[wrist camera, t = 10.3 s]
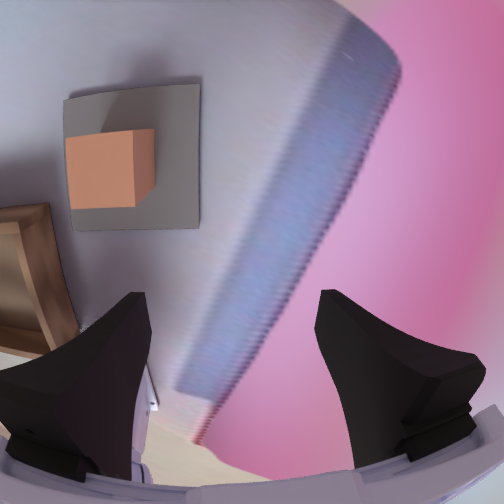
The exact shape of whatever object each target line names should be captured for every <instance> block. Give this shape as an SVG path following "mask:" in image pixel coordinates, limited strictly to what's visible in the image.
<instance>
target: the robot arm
mask: <svg viewBox="0 0 504 504" xmlns="http://www.w3.org/2000/svg"><path fill="white" fill-rule="evenodd" d="M314 330H315V333H316V338H317V341H318V345H319V348H320V351H321V353H322V356H323V358H324V360H325V363H326V365H327V367H328V369H329V372H330V374H331V377H332V379H333V381H334V384H335V386H336V388H337V391H338V394H339V397H340V400H341V404H342V407H343V411H344V415H345V419H346V423H347V427H348V431H349V436H350V442H351V447H352V453H353V459H354V466H355V469H354V470H341V471H334V472H327V473H321V474H316V475H310V476H304V477H298V478H291V479H285V480H275V481H265V482H253V483H234V484H218V485H205V486H201V487H183V486H168V485H157V484H153V479H152V475H151V473H150V471H149V469H148V467H147V466H146V465H145V464H143V463H140V462H141V455H142V454H143V452H144V448H145V441H146V434H147V427H148V421H149V414H150V410H154V411H156V410H158V409H159V405H158V402H157V399H156V396H155V393H154V389H153V386H152V383H151V379H150V376H149V372H148V369H147V365H146V361H147V358H148V354H149V348H150V341H151V334H152V331H151V326H150V321H149V315H148V310H147V304H146V298H145V292H130V293H129V294H127V295H126V296H125V297H124V298H123V299H122V300H121V301H119V302H118V303H117V304H116V305H115V306H114V307H113V308H112V309H110V310H109V311H108V312H107V313H106V314H105V315H104V316H102V317H101V318H100V319H99V320H97V321H96V322H95V323H94V324H92V325H91V326H90V327H89V328H87V329H86V330H85V331H84V332H82V333H81V334H79V335H78V336H76V337H75V338H73V339H72V340H70V341H69V342H67V343H65V344H64V345H62V346H60V347H58V348H56V349H55V350H53V351H51V352H49V353H47V354H45V355H43V356H41V357H38V358H36V359H34V360H31V361H29V362H26V363H23V364H20V365H17V366H14V367H10V368H7V369H3V370H0V422H1V423H2V424H3V425H4V426H5V427H6V429H7V430H8V431H9V432H10V433H11V436H10V439H9V440H7V439H6V438H5V437H3V436H1V435H0V504H444V503H446V502H448V501H449V500H451V499H453V498H454V497H456V496H458V495H459V494H461V493H463V492H464V491H466V490H467V489H469V488H470V487H472V486H474V485H475V484H477V483H478V482H479V481H481V480H482V479H484V478H485V477H487V476H488V475H489V474H490V473H491V472H493V471H494V470H495V469H496V468H497V467H499V466H500V465H501V464H502V463H503V462H504V417H503V415H502V414H501V412H500V411H499V410H498V408H497V406H496V405H495V404H494V405H491V406H490V407H488V408H486V409H484V410H482V411H481V412H479V413H477V414H476V415H475V416H474V417H473V418H472V417H471V416H470V414H469V412H470V411H471V410H472V407H471V406H470V404H469V403H468V402H469V401H470V399H471V398H472V397H473V395H474V394H475V392H476V391H477V389H478V388H479V386H480V385H481V383H482V382H483V380H484V377H485V374H486V368H485V366H484V365H483V364H482V362H481V361H480V360H479V359H478V357H477V356H476V355H475V354H472V353H466V352H461V351H456V350H451V349H447V348H444V347H440V346H437V345H434V344H431V343H428V342H425V341H422V340H420V339H417V338H415V337H413V336H411V335H408V334H406V333H404V332H402V331H400V330H398V329H396V328H394V327H392V326H391V325H389V324H387V323H386V322H384V321H382V320H381V319H379V318H377V317H376V316H374V315H373V314H371V313H370V312H368V311H367V310H365V309H364V308H362V307H361V306H359V305H358V304H356V303H355V302H354V301H352V300H351V299H349V298H348V297H346V296H345V295H344V294H342V293H341V292H339V291H337V290H335V289H330V290H321V296H320V301H319V306H318V312H317V317H316V322H315V327H314Z"/></svg>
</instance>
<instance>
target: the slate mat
mask: <svg viewBox="0 0 504 504" xmlns="http://www.w3.org/2000/svg"><path fill="white" fill-rule="evenodd" d="M199 109H200V84H182V85H165V86H152V87H142V88H133V89H125V90H117V91H110V92H104V93H98V94H92V95H87V96H81V97H76V98H72V99H67V100H64V107H63V130H64V156H65V171H66V182H67V192H68V200H69V208H70V215H71V222H72V228H73V231H100V230H139V229H199ZM141 129H154V168H155V187H154V188H153V189H152V190H151V191H150V192H149V193H148V194H147V195H146V196H145V197H144V198H143V199H142V200H141V201H140V202H139V203H138V205H137V206H136V207H111V208H88V209H71V205H70V196H69V187H68V175H67V160H66V138H70V137H77V136H84V135H91V134H99V133H108V132H117V131H128V130H141Z"/></svg>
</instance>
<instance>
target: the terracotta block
mask: <svg viewBox="0 0 504 504" xmlns="http://www.w3.org/2000/svg"><path fill="white" fill-rule="evenodd" d="M66 160H67V175H68V187H69V196H70V205H71V209H88V208H111V207H136V206H137V205H138V203H139V202H140V201H141V200H142V199H143V198H144V197H145V196H146V195H147V194H148V193H149V192H150V191H151V190H152V189H153V188H154V187H155V168H154V129H141V130H128V131H117V132H108V133H99V134H91V135H84V136H77V137H70V138H66Z"/></svg>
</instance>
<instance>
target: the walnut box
mask: <svg viewBox="0 0 504 504" xmlns="http://www.w3.org/2000/svg"><path fill="white" fill-rule="evenodd" d="M80 333H81V332H80V329H79V326H78V323H77V320H76V317H75V314H74V311H73V308H72V305H71V301H70V298H69V295H68V291H67V287H66V284H65V280H64V276H63V272H62V268H61V264H60V260H59V255H58V251H57V246H56V241H55V236H54V231H53V225H52V219H51V213H50V206H49V203H43V204H33V205H23V206H15V207H6V208H0V352H3V353H8V354H12V355H16V356H21V357H25V358H30V359H36V358H38V357H41V356H43V355H45V354H47V353H49V352H51V351H53V350H55V349H56V348H58V347H60V346H62V345H64V344H65V343H67V342H69V341H70V340H72V339H73V338H75V337H76V336H78V335H79V334H80Z"/></svg>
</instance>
